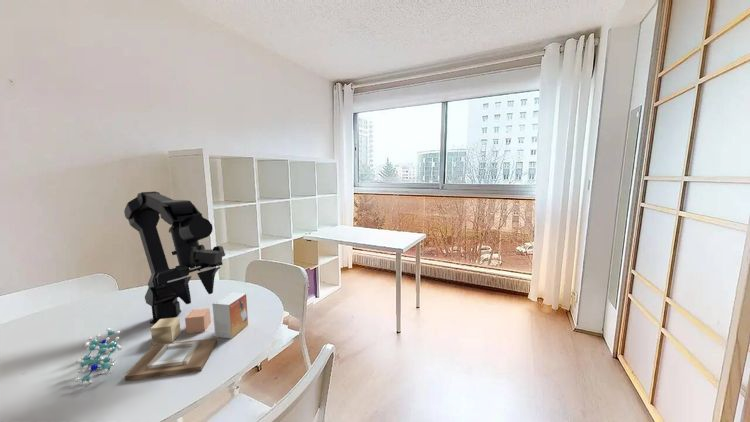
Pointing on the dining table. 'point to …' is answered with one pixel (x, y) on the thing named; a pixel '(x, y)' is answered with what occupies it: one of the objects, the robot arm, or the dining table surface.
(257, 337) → the dining table surface
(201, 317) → the terracotta block
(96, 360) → the molecule model
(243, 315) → the small box
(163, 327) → the maple block
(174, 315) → the robot arm
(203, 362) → the walnut board
